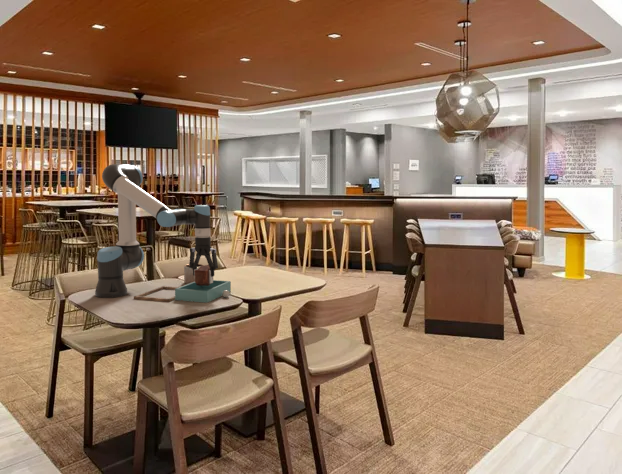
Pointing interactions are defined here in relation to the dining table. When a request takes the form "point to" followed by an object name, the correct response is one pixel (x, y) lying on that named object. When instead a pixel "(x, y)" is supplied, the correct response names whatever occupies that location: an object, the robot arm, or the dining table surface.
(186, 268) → the planter
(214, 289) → the dish
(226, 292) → the pebble
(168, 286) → the frame
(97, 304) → the dining table surface
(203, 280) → the reddish brown block
